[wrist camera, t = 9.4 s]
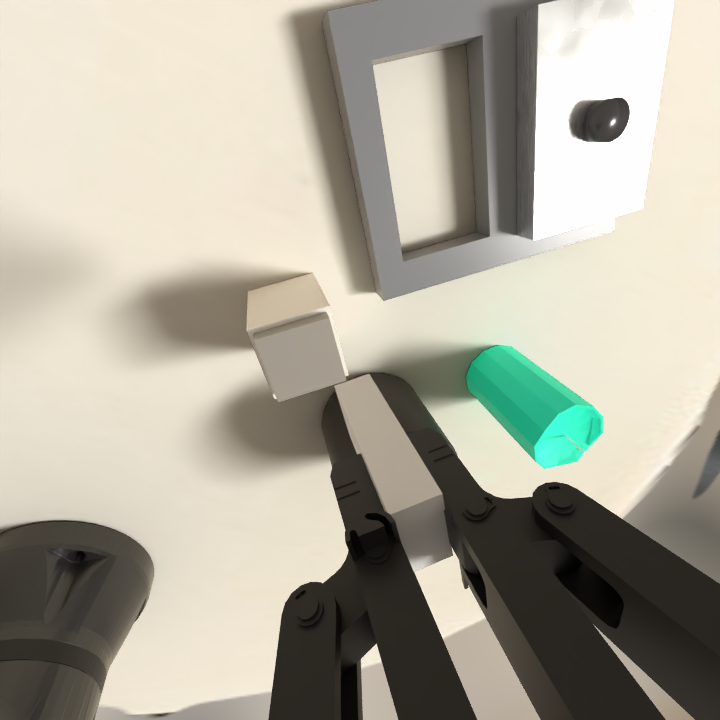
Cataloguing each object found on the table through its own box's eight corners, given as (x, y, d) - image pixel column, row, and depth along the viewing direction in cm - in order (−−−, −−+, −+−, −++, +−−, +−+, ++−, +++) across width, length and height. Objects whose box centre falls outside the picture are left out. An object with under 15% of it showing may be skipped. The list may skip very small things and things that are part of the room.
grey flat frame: (376, 292, 31) (383, 300, 29) (321, 22, 22) (327, 10, 20) (594, 227, 33) (613, 231, 31) (621, -42, 24) (649, -58, 23)
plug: (269, 348, 31) (275, 407, 23) (247, 291, 28) (246, 337, 21) (329, 330, 31) (352, 382, 24) (312, 272, 29) (332, 311, 21)
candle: (454, 387, 37) (531, 475, 27) (489, 335, 35) (586, 408, 25) (497, 404, 40) (583, 490, 30) (532, 356, 38) (636, 430, 28)
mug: (402, 469, 41) (437, 542, 33) (302, 437, 36) (316, 515, 28) (453, 400, 38) (505, 462, 30) (354, 355, 33) (385, 415, 25)
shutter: (517, 235, 29) (544, 243, 26) (516, 16, 23) (553, -4, 20) (619, 205, 30) (656, 210, 27) (647, -14, 24) (699, -36, 21)
